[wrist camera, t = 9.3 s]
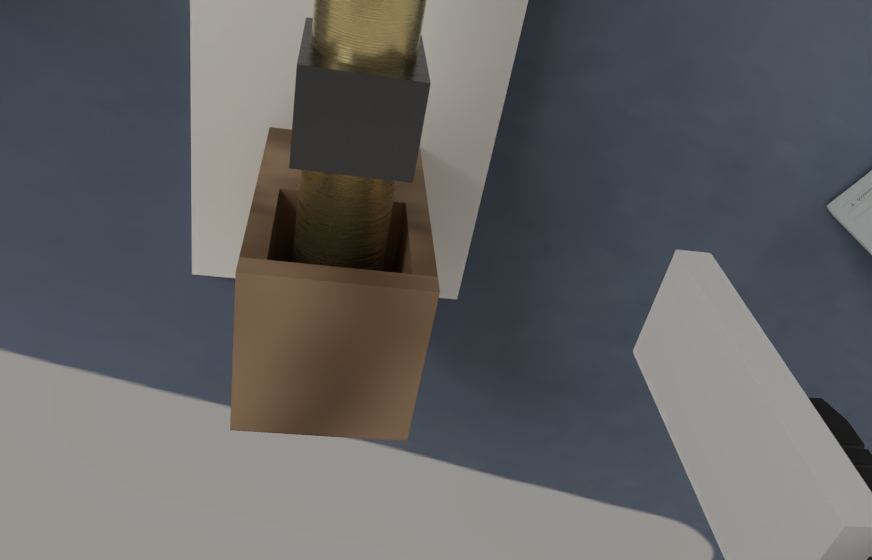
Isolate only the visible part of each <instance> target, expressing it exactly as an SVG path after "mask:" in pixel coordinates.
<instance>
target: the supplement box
mask: <svg viewBox="0 0 872 560" xmlns="http://www.w3.org/2000/svg"><path fill="white" fill-rule="evenodd" d="M827 208H828V210H829V211H830V213H831V214H832V215H833V216H834V217H835V218H836V219H837V220H838V221H839V222H840V223H841V225H842V226H843V227H844V228H845V229H846V230H847V231H848V232H849V233H850V234H851V235H852V236H853V237H854V238H855V239H856V240H857V241H858V242H859V243H860V244H861V245H862V246H863V247H864V248H865V249H866V250H867V251H868V252H869V253H870V254H871V255H872V170H871V171H870V172H869V173H867V174H866V175H865V176H864V177H863V178H861V179H860V180H859V181H857V182H856V183H855V184H854V185H852V186H851V187H850V188H848V189H847V190H846V191H845V192H843V193H842V194H841V195H839V196H838V197H837V198H835V199H834V200H833V201H831V202H830V203H829V204H828V205H827Z"/></svg>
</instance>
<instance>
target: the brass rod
mask: <svg viewBox="0 0 872 560" xmlns="http://www.w3.org/2000/svg"><path fill="white" fill-rule="evenodd" d="M426 1H427V0H314V10H313V18H308V17H306V21H305V26H304V31H303V36H302V41H301V46H300V51H299V56H298V61H297V69H296V83H295V96H294V110H293V123H292V136H291V150H290V163H289V168H291V169H299V170H300V178H299V190H298V202H297V214H296V226H295V237H294V249H293V261H292V262H294V263H304V264H314V265H324V266H334V267H344V268H354V269H364V270H374V271H382V268H383V262H384V256H385V250H386V244H387V238H388V232H389V225H390V219H391V213H392V207H393V201H394V195H395V189H396V183H397V181H399V182H408V183H413V180H414V174H415V169H416V163H417V158H418V152H419V146H420V141H421V135H422V130H423V124H424V118H425V113H426V107H427V102H428V96H429V90H430V85H431V82H430V77H429V72H428V66H427V61H426V56H425V51H424V46H423V40H422V35H421V31H422V25H423V19H424V13H425V7H426Z"/></svg>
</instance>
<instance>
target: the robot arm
mask: <svg viewBox="0 0 872 560" xmlns="http://www.w3.org/2000/svg"><path fill="white" fill-rule="evenodd" d="M633 354H634V356H635V358H636V360H637V363H638V365H639V367H640V369H641V372H642V374H643V376H644V378H645V381H646V383H647V385H648V387H649V390H650V392H651V394H652V396H653V399H654V401H655V403H656V405H657V408H658V410H659V412H660V414H661V417H662V419H663V421H664V423H665V426H666V428H667V430H668V432H669V435H670V437H671V439H672V441H673V444H674V446H675V448H676V450H677V453H678V455H679V457H680V459H681V462H682V464H683V466H684V468H685V471H686V473H687V475H688V477H689V480H690V482H691V484H692V487H693V489H694V491H695V493H696V496H697V498H698V500H699V502H700V505H701V507H702V509H703V511H704V514H705V516H706V518H707V520H708V523H709V525H710V527H711V529H712V532H713V534H714V536H715V538H716V541H717V543H718V545H719V547H720V550H721V552H722V554H723V556H724V559H725V560H872V455H871V453H870V452H869V450H866V449H864V443H863V442H862V441H861V439H860V438H859V436H858V435H857V434H856V432H855V431H854V429H853V428H852V426H851V425H850V424H849V422H848V421H847V420H846V419H845V418H844V417H843V416H841V415H840V414H839V413H838V412H837V411H836V410H835V409H833V408H832V407H831V406H830V405H829V404H828V403H826V402H825V401H824V400H823V399H821V398H808V397H807V395H806V394H805V392H804V391H803V390H802V388H801V387H800V385H799V384H798V382H797V381H796V379H795V378H794V376H793V375H792V373H791V372H790V370H789V369H788V367H787V366H786V364H785V363H784V361H783V360H782V358H781V357H780V355H779V354H778V352H777V351H776V349H775V348H774V346H773V345H772V343H771V342H770V340H769V339H768V337H767V336H766V334H765V333H764V332H763V330H762V329H761V327H760V326H759V324H758V323H757V321H756V320H755V318H754V317H753V315H752V314H751V312H750V311H749V309H748V308H747V306H746V305H745V303H744V302H743V300H742V299H741V297H740V296H739V294H738V293H737V291H736V290H735V288H734V287H733V285H732V284H731V282H730V281H729V279H728V278H727V277H726V275H725V274H724V272H723V271H722V269H721V268H720V266H719V265H718V263H717V262H716V260H715V259H714V257H713V256H712V254H711V253H705V252H695V251H686V250H676V251H675V253H674V256H673V258H672V260H671V263H670V265H669V267H668V270H667V272H666V274H665V277H664V279H663V281H662V284H661V286H660V288H659V291H658V293H657V296H656V298H655V300H654V303H653V305H652V307H651V310H650V312H649V314H648V317H647V319H646V321H645V324H644V326H643V328H642V331H641V333H640V335H639V338H638V340H637V342H636V345H635V347H634V349H633Z"/></svg>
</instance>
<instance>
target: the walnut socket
mask: <svg viewBox="0 0 872 560" xmlns="http://www.w3.org/2000/svg"><path fill="white" fill-rule="evenodd" d="M291 136H292V130H290V129H282V128H274V127H270V128H269V132H268V136H267V141H266V145H265V149H264V153H263V158H262V162H261V166H260V170H259V175H258V179H257V183H256V187H255V192H254V196H253V200H252V204H251V209H250V213H249V217H248V221H247V226H246V230H245V234H244V238H243V243H242V247H241V251H240V256H239V260H238V264H237V268H236V273H235V303H234V334H233V365H232V395H231V426H230V430H237V431H254V432H269V433H284V434H301V435H316V436H331V437H347V438H363V439H378V440H394V441H407V439H408V434H409V430H410V425H411V421H412V416H413V412H414V407H415V403H416V398H417V394H418V389H419V385H420V380H421V376H422V371H423V367H424V362H425V358H426V353H427V349H428V344H429V340H430V335H431V331H432V326H433V322H434V317H435V312H436V308H437V303H438V299H439V294H440V289H439V281H438V274H437V267H436V260H435V252H434V245H433V238H432V231H431V223H430V216H429V209H428V201H427V194H426V187H425V180H424V172H423V165H422V158H421V151H420V146H419V152H418V158H417V163H416V169H415V174H414V180H413V183H408V182H399V181H397V183H396V189H395V195H394V201H393V207H392V213H391V219H390V225H389V232H388V238H387V244H386V250H385V256H384V262H383V268H382V271H374V270H364V269H354V268H344V267H334V266H324V265H314V264H304V263H294V262H292V261H293V249H294V237H295V226H296V214H297V202H298V190H299V178H300V170H299V169H291V168H289V163H290V150H291Z"/></svg>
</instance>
